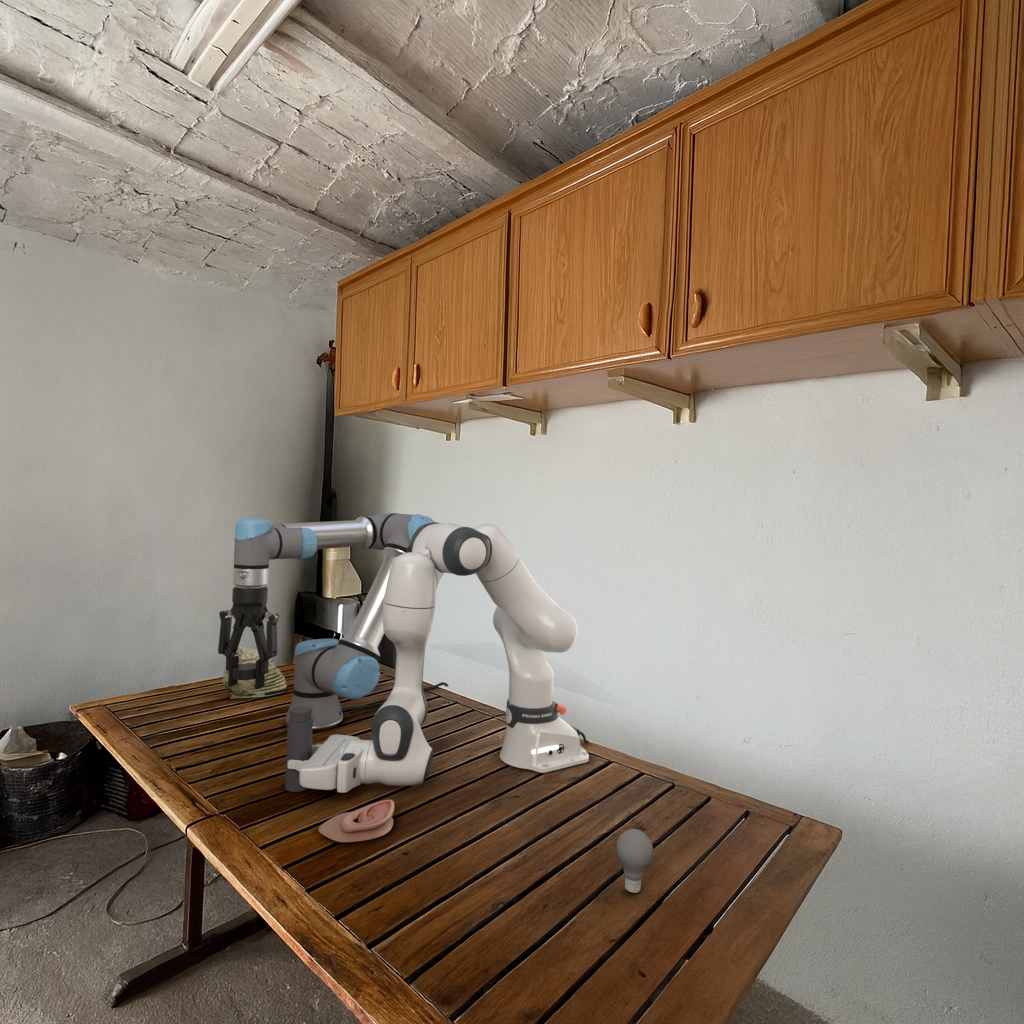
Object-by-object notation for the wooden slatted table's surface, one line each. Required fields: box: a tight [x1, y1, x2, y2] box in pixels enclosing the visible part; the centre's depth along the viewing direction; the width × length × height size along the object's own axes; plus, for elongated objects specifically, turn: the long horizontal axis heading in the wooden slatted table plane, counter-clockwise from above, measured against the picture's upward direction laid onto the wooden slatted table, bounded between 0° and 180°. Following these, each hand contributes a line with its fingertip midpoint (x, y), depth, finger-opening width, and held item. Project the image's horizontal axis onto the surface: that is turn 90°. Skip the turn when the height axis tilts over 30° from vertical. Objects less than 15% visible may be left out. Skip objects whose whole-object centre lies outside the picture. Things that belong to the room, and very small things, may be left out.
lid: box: [232, 663, 256, 680], centre depth 146 cm, size 6×6×2 cm
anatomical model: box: [317, 799, 395, 843], centre depth 122 cm, size 13×4×12 cm
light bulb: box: [615, 828, 654, 894], centre depth 106 cm, size 6×6×10 cm
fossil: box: [222, 646, 288, 699], centre depth 198 cm, size 9×18×15 cm, turn 132°
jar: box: [284, 706, 313, 793], centre depth 138 cm, size 5×5×17 cm
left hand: (246, 686), depth 146 cm, fingers closed on lid, 6 cm apart
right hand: (294, 756), depth 138 cm, fingers closed on jar, 5 cm apart
